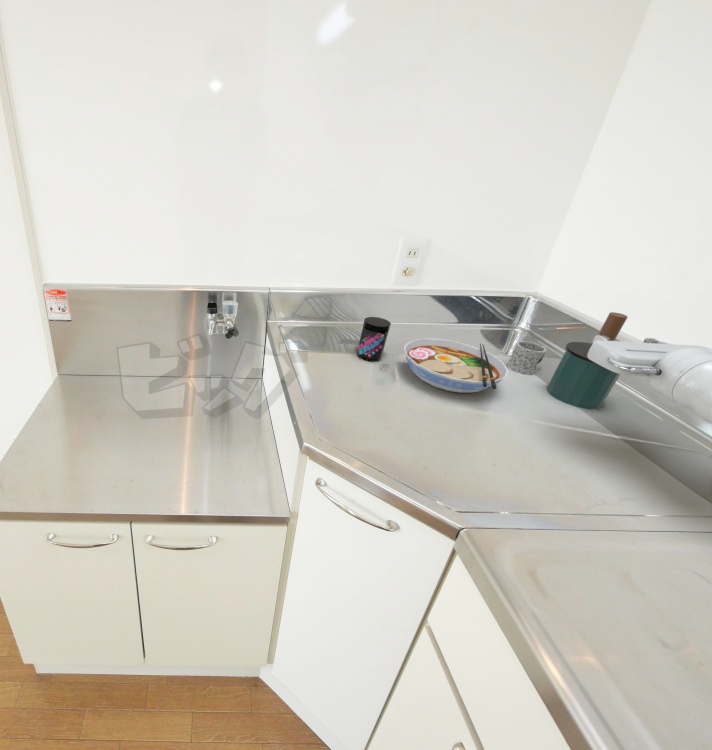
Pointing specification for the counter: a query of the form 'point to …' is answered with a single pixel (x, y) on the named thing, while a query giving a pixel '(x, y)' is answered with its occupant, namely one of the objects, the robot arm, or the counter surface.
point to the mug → (526, 357)
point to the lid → (608, 330)
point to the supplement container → (373, 338)
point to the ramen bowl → (454, 365)
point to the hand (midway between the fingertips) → (622, 340)
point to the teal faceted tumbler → (581, 382)
